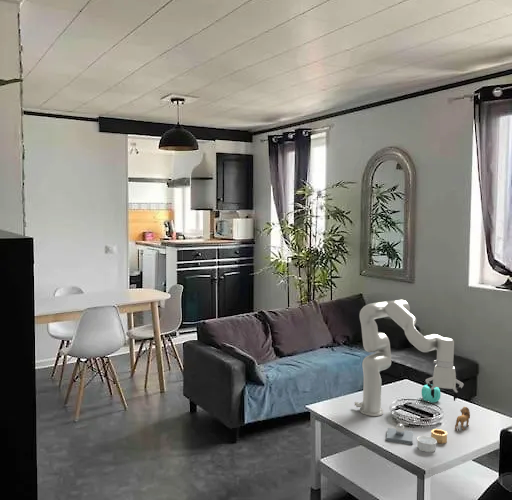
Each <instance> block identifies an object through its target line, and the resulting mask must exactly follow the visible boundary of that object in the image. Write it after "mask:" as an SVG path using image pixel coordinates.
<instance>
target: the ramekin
mask: <svg viewBox="0 0 512 500" xmlns="http://www.w3.org/2000/svg"><path fill="white" fill-rule="evenodd" d="M416 444H417V449H418V450H419V451H421V452H425V453H433V452H435V451H436V448H437V444H438V443H437V440H436V439H434V438H432V437H431V436H429V435H419V436H417V438H416Z"/></svg>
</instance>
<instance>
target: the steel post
mask: <svg viewBox="0 0 512 500" xmlns="http://www.w3.org/2000/svg"><path fill="white" fill-rule="evenodd" d="M395 429H396V435H397V436H404V430H405V426H404V423H401V422H400V423H396V425H395Z"/></svg>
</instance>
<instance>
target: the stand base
mask: <svg viewBox="0 0 512 500" xmlns="http://www.w3.org/2000/svg"><path fill="white" fill-rule="evenodd" d="M413 436H414V430H407V429H404V436H397V435H396V428H391V427H388V428H387V431H386V440H385V441H387V442H392V443H393V442H394V443H400V444H406V445H413V443H414V440H413V439H414V437H413Z"/></svg>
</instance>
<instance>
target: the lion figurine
mask: <svg viewBox="0 0 512 500" xmlns="http://www.w3.org/2000/svg"><path fill="white" fill-rule="evenodd" d="M459 412H460V413H461V415H458V416H457V417H456V420H455V421H456V422H455V425H454V430H455V431H456V430H457V431H458V432H459V431H460V428H459V423H460V425H461V429H462V430H463V431H465V430H466V429H465V428H464V423H466V424H465V425H466V427H469V426H470V425H469V422H470V418H471V411H470V409H469V407H468V406H463V407H462V408H460V411H459Z"/></svg>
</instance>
